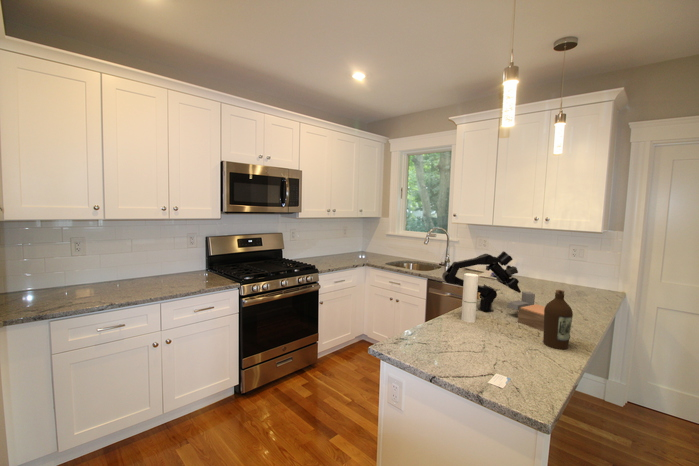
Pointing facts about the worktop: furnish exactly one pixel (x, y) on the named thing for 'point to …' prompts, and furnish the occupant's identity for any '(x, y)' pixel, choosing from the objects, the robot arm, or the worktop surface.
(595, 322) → the worktop surface
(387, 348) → the worktop surface
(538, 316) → the frame
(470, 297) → the cylindrical container
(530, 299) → the stone
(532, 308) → the trapdoor
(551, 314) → the olive oil
